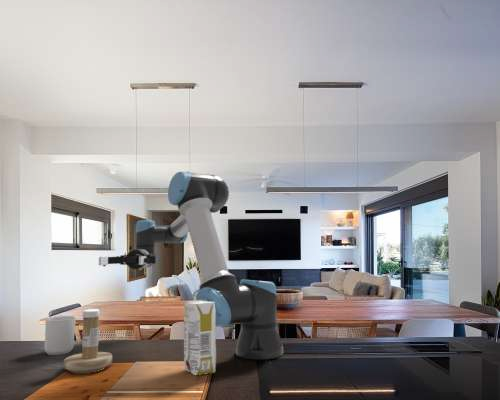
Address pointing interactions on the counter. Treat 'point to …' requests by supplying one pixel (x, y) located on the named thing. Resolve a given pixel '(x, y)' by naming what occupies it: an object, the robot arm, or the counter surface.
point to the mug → (59, 335)
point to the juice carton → (200, 336)
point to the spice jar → (90, 333)
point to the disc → (87, 363)
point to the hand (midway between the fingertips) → (119, 261)
